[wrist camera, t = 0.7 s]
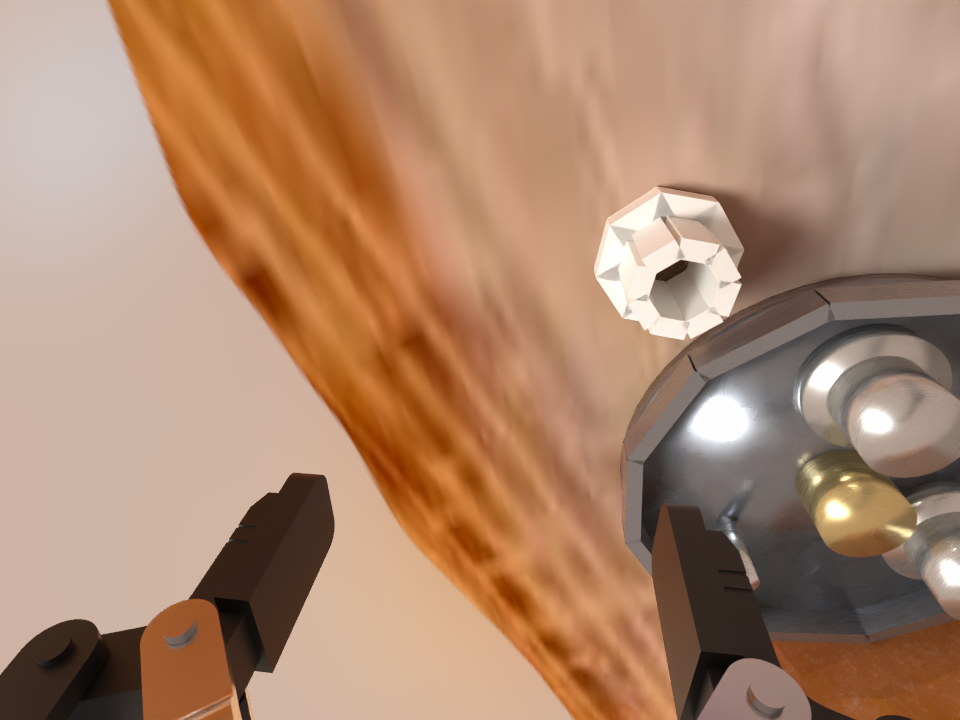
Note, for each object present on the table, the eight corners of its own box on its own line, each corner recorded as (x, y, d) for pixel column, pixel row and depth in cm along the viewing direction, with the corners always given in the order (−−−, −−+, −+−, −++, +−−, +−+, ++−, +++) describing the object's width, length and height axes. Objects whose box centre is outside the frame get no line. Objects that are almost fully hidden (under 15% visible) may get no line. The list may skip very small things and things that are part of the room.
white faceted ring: (693, 162, 29) (722, 183, 24) (752, 271, 31) (789, 310, 26) (574, 239, 31) (578, 272, 27) (637, 334, 34) (651, 380, 29)
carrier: (1003, 173, 27) (1131, 207, 21) (1116, 520, 36) (1229, 613, 30) (545, 412, 37) (544, 482, 31) (723, 638, 46) (749, 727, 40)
